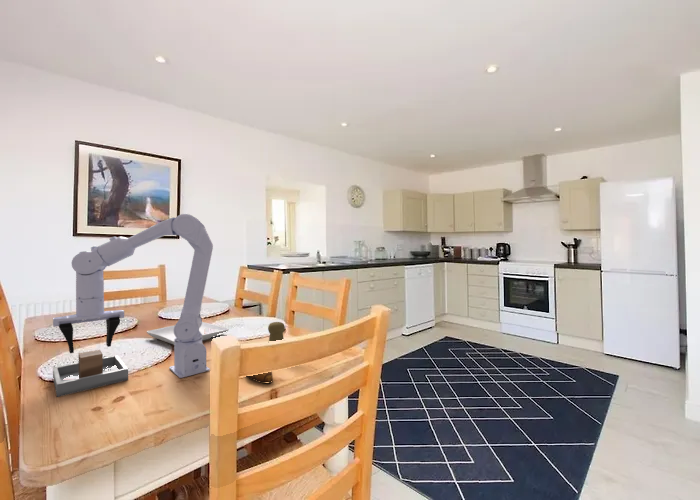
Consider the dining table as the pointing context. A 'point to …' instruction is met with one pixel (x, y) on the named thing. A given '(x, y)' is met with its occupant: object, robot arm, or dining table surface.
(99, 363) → the walnut block
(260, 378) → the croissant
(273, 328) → the cork
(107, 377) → the tray
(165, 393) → the dining table surface
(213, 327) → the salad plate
